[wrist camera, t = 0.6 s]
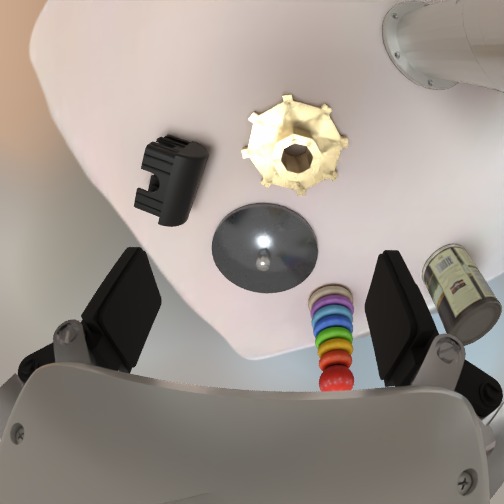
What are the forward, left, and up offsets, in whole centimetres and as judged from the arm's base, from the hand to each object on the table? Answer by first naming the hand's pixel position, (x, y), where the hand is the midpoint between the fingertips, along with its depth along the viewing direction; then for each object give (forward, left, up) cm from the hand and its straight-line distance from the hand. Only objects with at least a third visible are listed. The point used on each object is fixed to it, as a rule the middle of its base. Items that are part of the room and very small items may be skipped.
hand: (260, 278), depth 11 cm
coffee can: (-16, +33, -27) cm, 45 cm away
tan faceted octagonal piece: (-1, +2, -26) cm, 26 cm away
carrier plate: (+11, +14, -26) cm, 32 cm away
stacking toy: (+6, +29, -27) cm, 40 cm away
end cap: (+14, -3, -27) cm, 30 cm away
